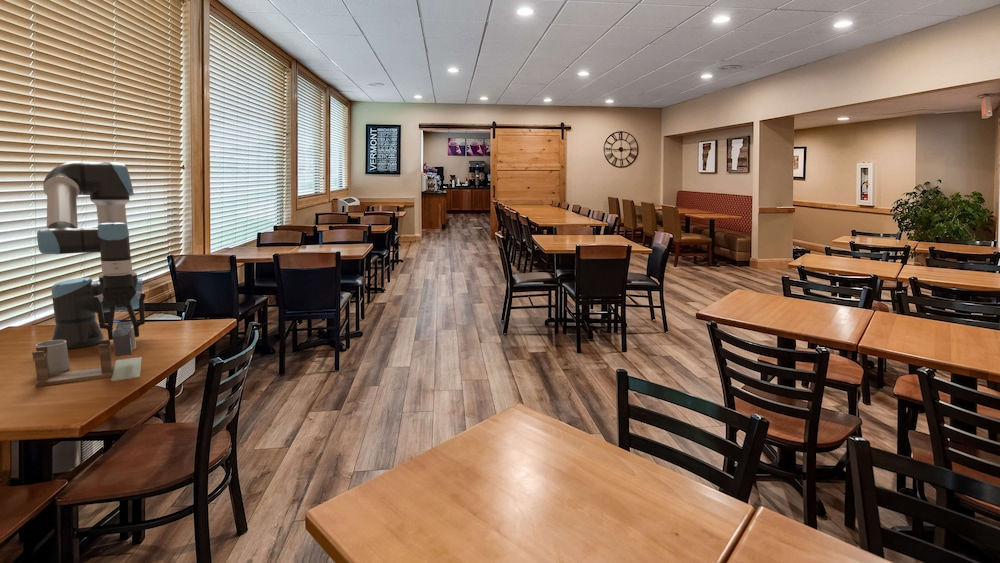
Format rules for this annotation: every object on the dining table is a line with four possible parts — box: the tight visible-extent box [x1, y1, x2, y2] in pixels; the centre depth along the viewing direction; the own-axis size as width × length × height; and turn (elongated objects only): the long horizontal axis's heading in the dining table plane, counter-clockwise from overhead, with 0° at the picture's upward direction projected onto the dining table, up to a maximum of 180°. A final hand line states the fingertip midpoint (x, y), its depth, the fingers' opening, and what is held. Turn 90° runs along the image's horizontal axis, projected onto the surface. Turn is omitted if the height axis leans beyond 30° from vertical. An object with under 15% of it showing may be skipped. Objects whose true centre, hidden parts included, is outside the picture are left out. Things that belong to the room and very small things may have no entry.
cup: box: [35, 339, 70, 374], centre depth 168 cm, size 7×10×9 cm
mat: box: [110, 356, 143, 382], centre depth 171 cm, size 22×7×1 cm, turn 32°
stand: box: [31, 338, 114, 388], centre depth 162 cm, size 8×18×10 cm, turn 122°
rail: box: [112, 320, 134, 357], centre depth 169 cm, size 4×20×6 cm, turn 31°
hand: (125, 348), depth 170 cm, fingers closed on rail, 4 cm apart
